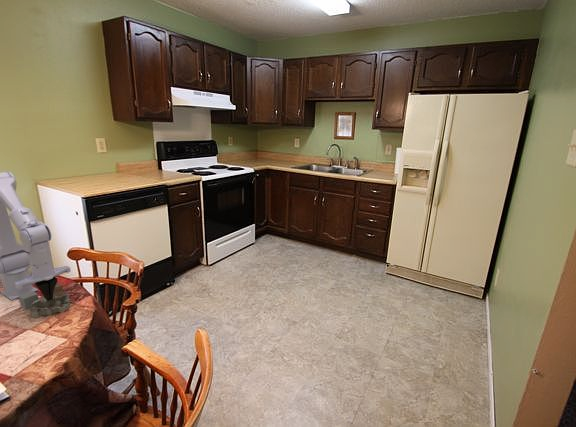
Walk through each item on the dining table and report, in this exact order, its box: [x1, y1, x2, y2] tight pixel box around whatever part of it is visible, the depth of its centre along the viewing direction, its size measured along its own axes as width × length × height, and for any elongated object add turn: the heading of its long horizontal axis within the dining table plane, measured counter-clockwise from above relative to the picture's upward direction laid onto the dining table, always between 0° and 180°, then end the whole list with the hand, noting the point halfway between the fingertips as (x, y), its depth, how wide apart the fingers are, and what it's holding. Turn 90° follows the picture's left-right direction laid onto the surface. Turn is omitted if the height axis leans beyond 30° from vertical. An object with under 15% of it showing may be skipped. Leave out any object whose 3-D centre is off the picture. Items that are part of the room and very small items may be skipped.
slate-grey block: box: [18, 291, 40, 310], centre depth 106 cm, size 4×4×4 cm
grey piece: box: [27, 292, 71, 319], centre depth 103 cm, size 11×8×4 cm
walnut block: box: [53, 281, 65, 297], centre depth 112 cm, size 4×4×4 cm
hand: (49, 299), depth 103 cm, fingers closed
